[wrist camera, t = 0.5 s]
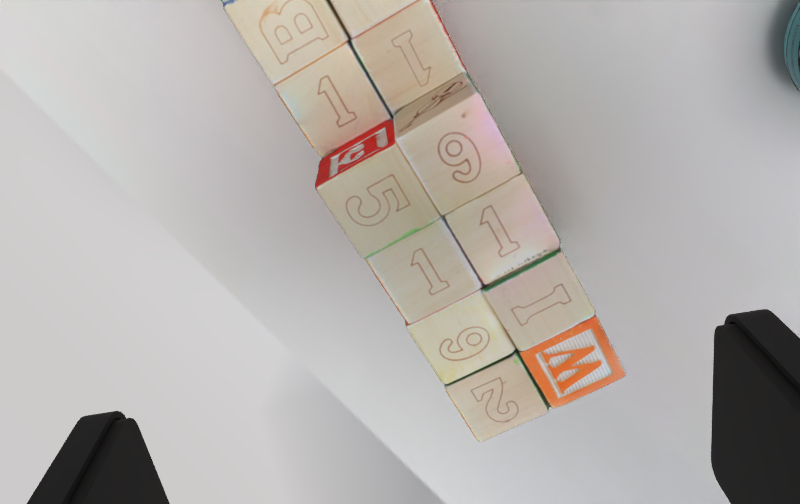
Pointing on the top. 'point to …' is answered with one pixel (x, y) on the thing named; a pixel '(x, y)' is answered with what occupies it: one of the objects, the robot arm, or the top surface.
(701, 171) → the top surface
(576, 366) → the stack of blocks
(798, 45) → the beverage bottle
